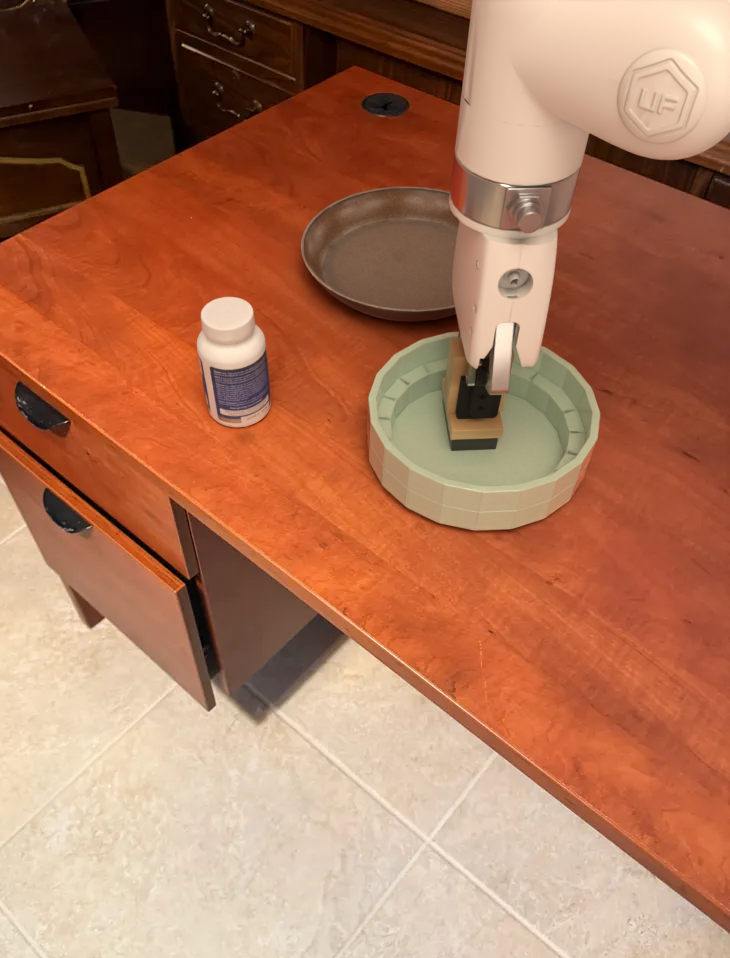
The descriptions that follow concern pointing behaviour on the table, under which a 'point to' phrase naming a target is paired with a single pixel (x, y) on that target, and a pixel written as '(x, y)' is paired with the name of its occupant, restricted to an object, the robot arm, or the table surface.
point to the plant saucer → (386, 252)
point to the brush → (459, 430)
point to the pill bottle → (233, 363)
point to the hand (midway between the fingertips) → (473, 401)
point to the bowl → (481, 471)
